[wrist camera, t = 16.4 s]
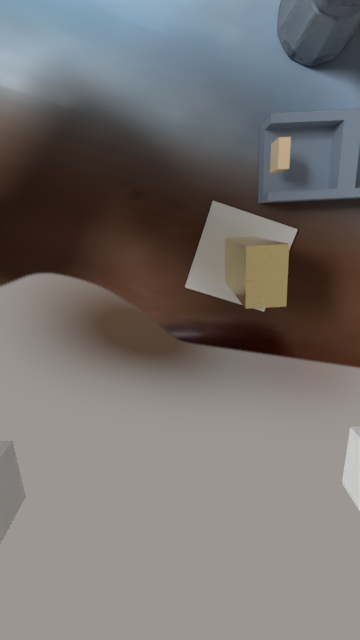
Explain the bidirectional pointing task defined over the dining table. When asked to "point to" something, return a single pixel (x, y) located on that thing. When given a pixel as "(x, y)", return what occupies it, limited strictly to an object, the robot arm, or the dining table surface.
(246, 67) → the dining table surface
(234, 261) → the tan cardboard box
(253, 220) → the white square mat
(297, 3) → the moka pot
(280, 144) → the grey divided tray
